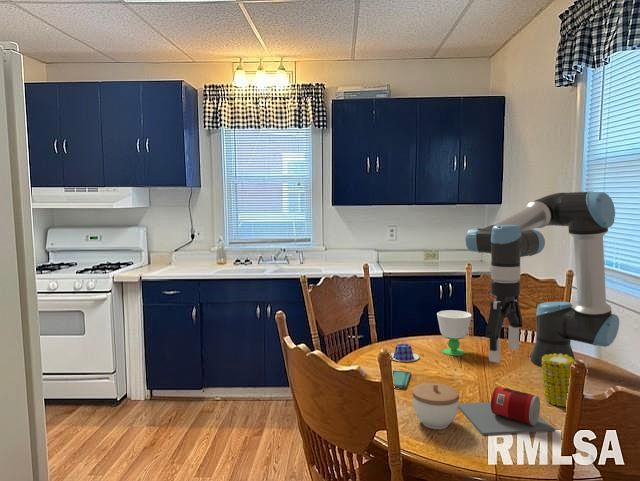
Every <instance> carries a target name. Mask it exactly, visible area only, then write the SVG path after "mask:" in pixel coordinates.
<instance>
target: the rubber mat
mask: <svg viewBox="0 0 640 481" xmlns="http://www.w3.org/2000/svg"><path fill="white" fill-rule="evenodd" d="M458 410H459V411H460V412H461V413H462V414H463V415H464V416H465V418H466V419H467V420H468V421H469V422H470V423H471V424H472V425H473V426H474V427H475V428H476V430H477V431H478V432H479V433H480V434H481V435H482V436H490V435H491V436H492V435H509V434H510V435H511V434H526V433H542V432H543V433H544V432H545V433H546V432H555V431H556V429H555V427H553V426H552V425H551V424H550V423H549V422H547V421H546V420H545V419H543V418H542V417H541V416H540V415H539V418H538V421H537V423H536V425H535V426H533V425H529V424H525V423H521V422H518V421H514V420H511V419H508V418H504V417H501V416H497V415H495V414H493V413H492V410H491V401H489V402H488V401H485V402H466V403H458Z"/></svg>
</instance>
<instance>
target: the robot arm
mask: <svg viewBox="0 0 640 481" xmlns="http://www.w3.org/2000/svg"><path fill="white" fill-rule="evenodd" d="M615 209H616V208H615V205H614V202H613V199H612V198H611V196H610V195H609V194H608V193H606V192H603V191H591V190H590V191H573V192H556V193H552V194H551V193H550V194H548V195H546V196H542V197H540V198H537V199H534V200H533V201H531V202H529V203H528V204H526V205H525V207H524V208H523V209H521V210H519V211H517V212H514V213H513V214H510V215H509V216H507V217H505V218H503V219H501V220H498V221H496V222H494V223H492V224H490V225H489V226H486V227H483V228H481V227H476V228H470V229H469V230H468V231H467V232H466V234H465V239H464V240H465V246H466V248H467V249H468V250H469V251H470V252H472V253H473V252H476V253H478V254H481V253H482V254H490V256H491V260H490V266H491V267H490V268H489V271H490V279H492V280H491V281H490V293H491V295H493V296H495V297H496V299H495V301H493V300H492V301H490V307H489V308H490V310H489V314H488V320H487V323H486V324H487V325H486V330H485V334H484V335H485V336H484V337H485V338H486V339H487V338H488V339H489V340H488V361H489V362H492V363H497V364H499V363H501V338H500V334H501V331H502V328H503V324H504V321H505V319H506V318H507V321H508V324H509V326H508V340H507V341H508V345H507V347H508V349H509V350H514V351H519V350H520V348H519V347H520V345H519V344H520V328H523V326H524V325H523V317H522V312H521V306H520V302H519V295H520V294H521V283H520V280H521V258H523V257H532V256H534V255H537V254H540V253H541V252H542V251H543V250H544V248H545V245H546V240H545V236H544V235H543V234H542V232H540V231H539V230H537V229H542V228H545V227H548V226H549V227H550V226H559V227H560V226H561V227H567V228H568V233H569V235H571V236H572V237H573V242H574V243H573V244H574V259H575V262H574V263H575V280H576V294H577V295H576V296H577V297H576V298H577V302H576V303H574V305H573V304H572V302H568V301H547V302H541V303H539V304H538V305H537V306H536V308H537V309H536V314H535V316H536V322H535V323H536V325H535V326H536V332H535V334H536V335H535V337H536V338H535V343H534V345H533V347H532V350H531V354H530V362H531V363H533V364H534V365H537V366H539V367H542V357H543V356H545V355H549V354H552V355H553V354H563V355H565V354H566V355H569V357H572V358H573V359H574V360H575V361H576V358H575V355H574V351H573V349H572V346H571V344H572V343H571V342H572V341H574V342H578V343H579V342H580V343H583V344H588V345H592V346H594V347H595V346H598V347H605V348H607V347H609V346H611V345H612V344H613V343H614V342H615V339H616V338H617V335H618V332H619V329H620V318H619V315H617V314H615V313H612V311H613V310H612V307H611V305H609V303H607V298H606V296H607V294H606V293H607V292H606V274H605V252H604V250H605V248H604V235H606V234H607V233H608V232H609V228H611V227H613V226H614V223H615V218H616V210H615Z"/></svg>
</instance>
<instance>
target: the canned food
mask: <svg viewBox="0 0 640 481" xmlns="http://www.w3.org/2000/svg"><path fill="white" fill-rule="evenodd" d="M490 402H491V410H492V413H493V414H495V415H497V416H501V417H504V418H508V419H511V420H514V421H518V422H521V423H525V424H529V425H533V426H535V425H536V423H537V421H538V418H539V416H540V411H541V400H540V397H539V396H538V395H536V394H531V393H528V392H524V391H520V390H515V389H512V388H507V387H502V386H496V387H494V389H493V392H492V394H491V398H490Z"/></svg>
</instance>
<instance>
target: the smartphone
mask: <svg viewBox="0 0 640 481" xmlns="http://www.w3.org/2000/svg"><path fill="white" fill-rule="evenodd" d="M393 377H394V386H395V388H399V389H406V390H407V388H408V384H409V383H410V381H409V380H411V378H412V373H411V372H410V371H404V370H403V371H402V370H395V369H394V370H393ZM399 389H398V390H399Z"/></svg>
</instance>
